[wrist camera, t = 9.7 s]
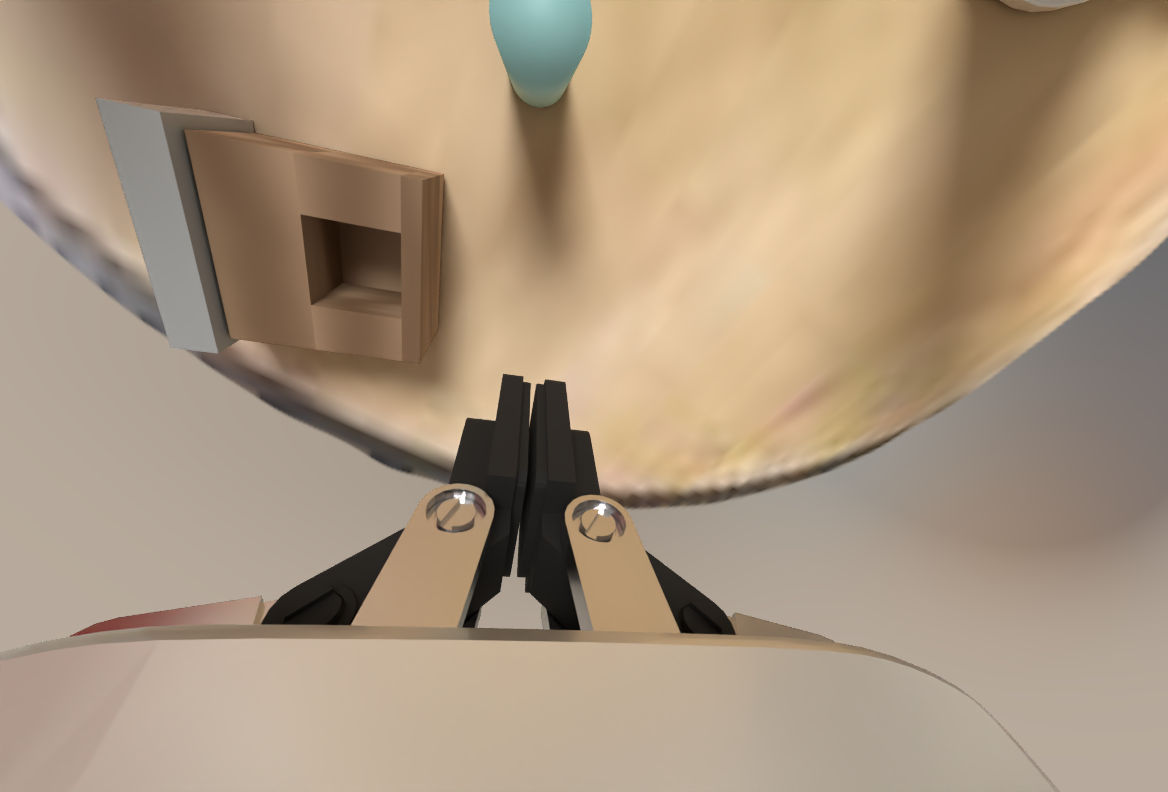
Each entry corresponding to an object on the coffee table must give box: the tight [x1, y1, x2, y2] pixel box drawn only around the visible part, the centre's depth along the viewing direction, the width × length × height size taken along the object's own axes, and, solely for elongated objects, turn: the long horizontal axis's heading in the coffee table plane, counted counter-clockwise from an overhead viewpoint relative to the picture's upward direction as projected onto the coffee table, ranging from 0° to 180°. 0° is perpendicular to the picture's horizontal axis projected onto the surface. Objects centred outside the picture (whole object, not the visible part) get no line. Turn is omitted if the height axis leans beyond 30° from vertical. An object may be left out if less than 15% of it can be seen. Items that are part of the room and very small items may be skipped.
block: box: [184, 129, 444, 364], centre depth 22 cm, size 9×9×5 cm
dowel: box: [489, 0, 592, 108], centre depth 17 cm, size 3×3×10 cm
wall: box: [96, 98, 255, 353], centre depth 20 cm, size 2×10×6 cm, turn 168°
